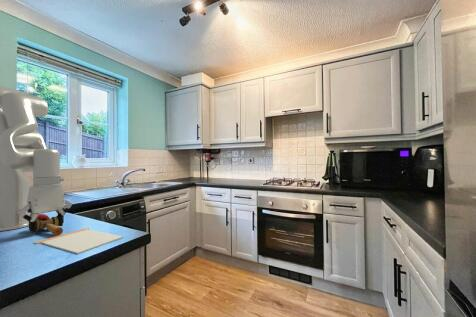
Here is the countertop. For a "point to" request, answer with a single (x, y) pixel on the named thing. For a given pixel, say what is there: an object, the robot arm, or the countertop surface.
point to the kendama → (48, 224)
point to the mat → (82, 241)
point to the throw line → (59, 236)
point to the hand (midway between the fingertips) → (47, 228)
